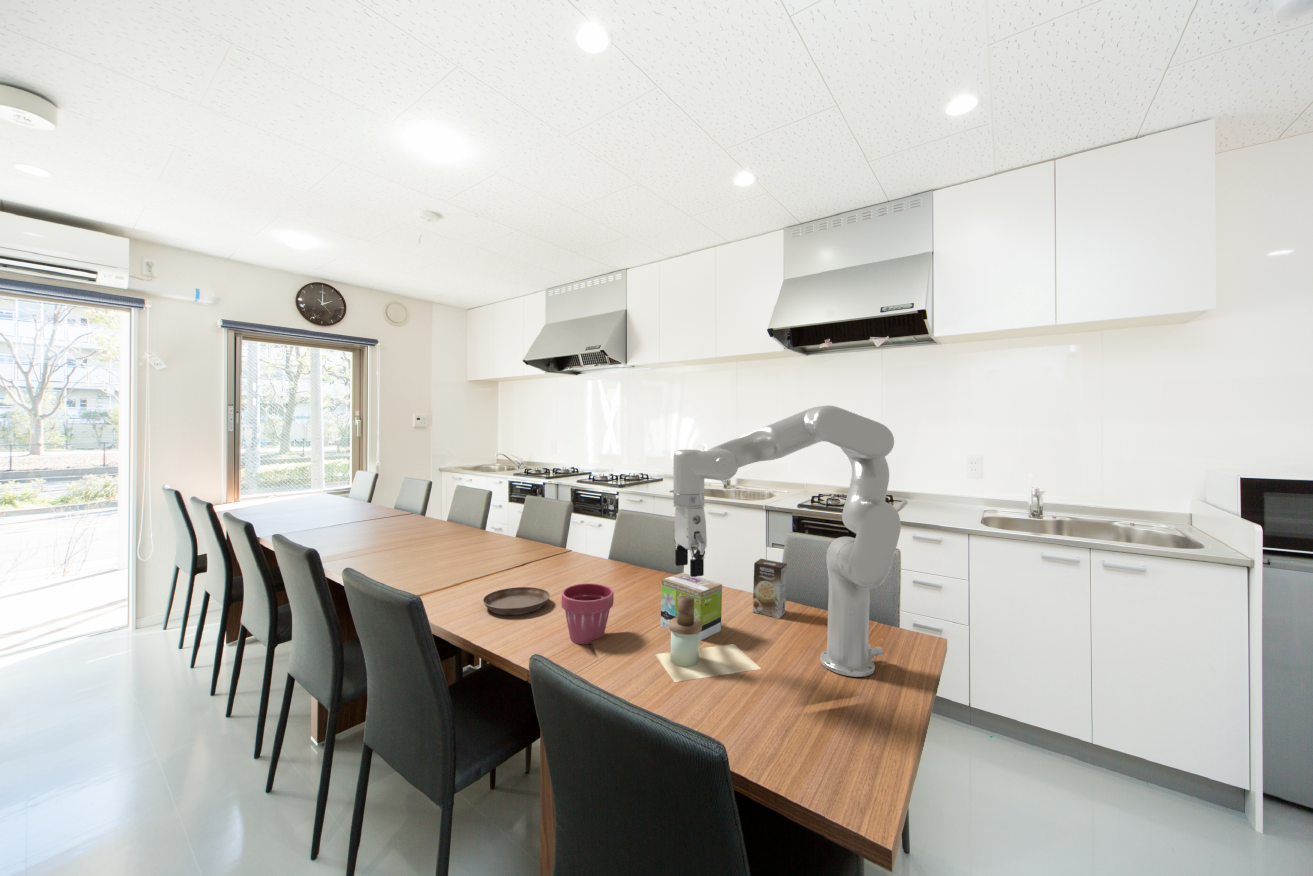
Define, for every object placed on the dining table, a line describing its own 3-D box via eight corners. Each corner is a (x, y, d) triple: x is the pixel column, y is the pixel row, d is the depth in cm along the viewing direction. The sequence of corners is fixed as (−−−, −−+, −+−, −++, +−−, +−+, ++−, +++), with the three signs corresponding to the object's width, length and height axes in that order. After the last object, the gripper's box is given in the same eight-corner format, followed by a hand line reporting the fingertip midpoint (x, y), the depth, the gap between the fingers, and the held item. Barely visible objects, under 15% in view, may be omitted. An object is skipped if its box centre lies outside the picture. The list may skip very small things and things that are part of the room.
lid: (694, 620, 123) (694, 591, 123) (707, 632, 115) (708, 602, 115) (664, 623, 120) (665, 594, 120) (676, 636, 113) (676, 605, 113)
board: (733, 648, 128) (733, 643, 128) (761, 673, 115) (761, 668, 115) (654, 659, 121) (654, 654, 121) (674, 687, 108) (674, 682, 108)
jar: (692, 652, 123) (693, 620, 123) (704, 665, 116) (705, 632, 116) (665, 655, 120) (666, 623, 120) (676, 669, 113) (676, 635, 113)
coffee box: (751, 612, 154) (752, 562, 154) (758, 606, 159) (759, 558, 159) (779, 619, 149) (781, 567, 149) (786, 612, 154) (787, 562, 154)
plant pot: (603, 652, 124) (604, 602, 124) (552, 645, 127) (553, 597, 127) (618, 629, 138) (619, 585, 138) (572, 624, 141) (573, 581, 141)
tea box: (659, 629, 139) (660, 578, 139) (681, 619, 147) (682, 571, 147) (700, 645, 129) (701, 590, 129) (722, 634, 137) (723, 582, 136)
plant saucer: (479, 600, 160) (480, 590, 160) (542, 592, 169) (542, 583, 169) (485, 623, 141) (485, 611, 141) (555, 613, 150) (556, 602, 150)
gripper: (718, 504, 111) (718, 579, 111) (689, 495, 127) (689, 560, 127) (688, 506, 108) (688, 582, 108) (662, 496, 125) (662, 562, 125)
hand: (688, 570), depth 118 cm, fingers open, 9 cm apart
